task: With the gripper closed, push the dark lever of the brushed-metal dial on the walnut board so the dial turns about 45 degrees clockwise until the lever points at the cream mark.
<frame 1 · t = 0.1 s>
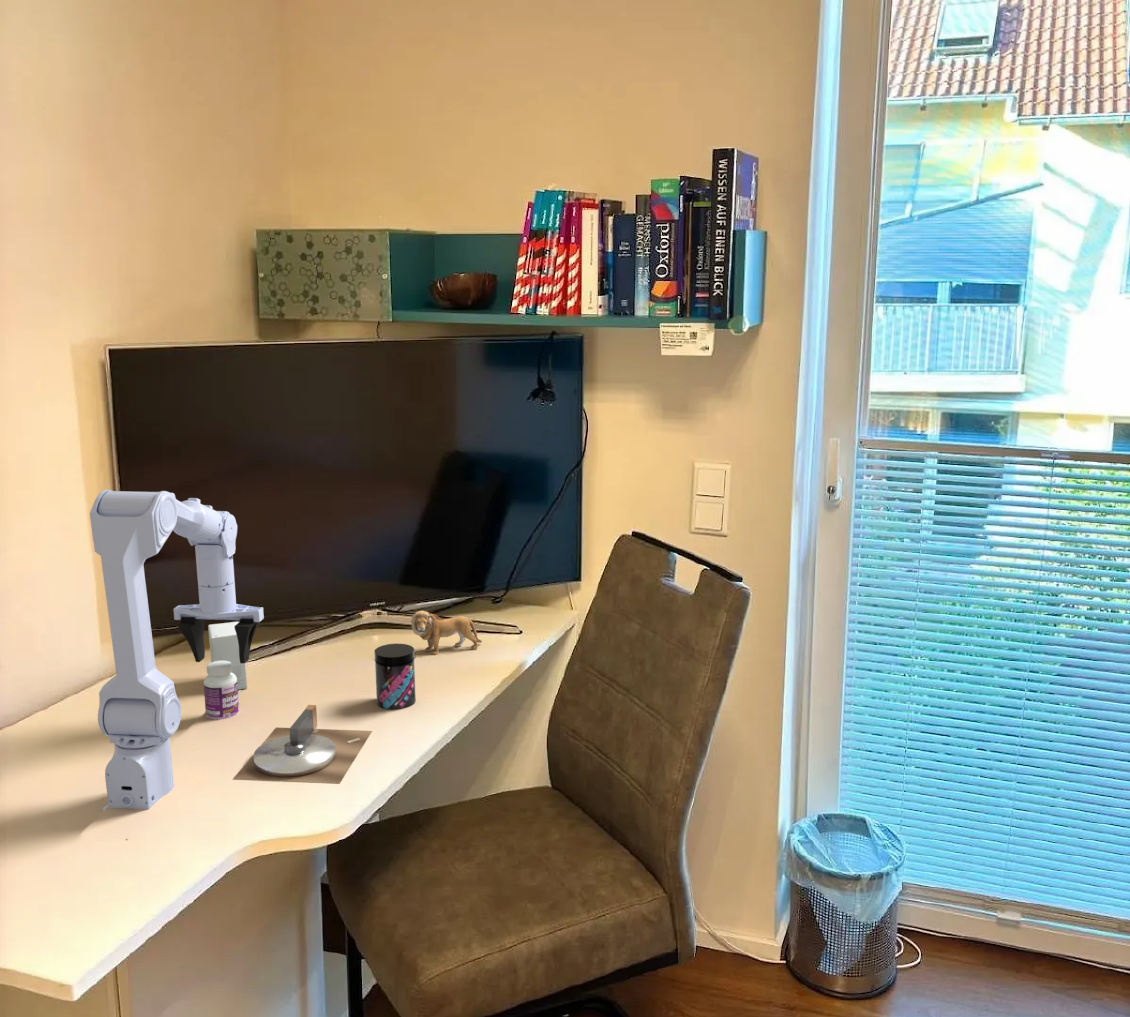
hand: (222, 660, 176), 10 cm above the table, tool pointing down, fingers open, 7 cm apart
supplement container: (396, 708, 182), on the table
pill bottle: (223, 719, 178), on the table
small box: (229, 684, 193), on the table
lion figurine: (446, 652, 209), on the table
dial: (297, 739, 161), point 4 cm above the table, hinge at 0.0°
dial board: (306, 759, 163), on the table
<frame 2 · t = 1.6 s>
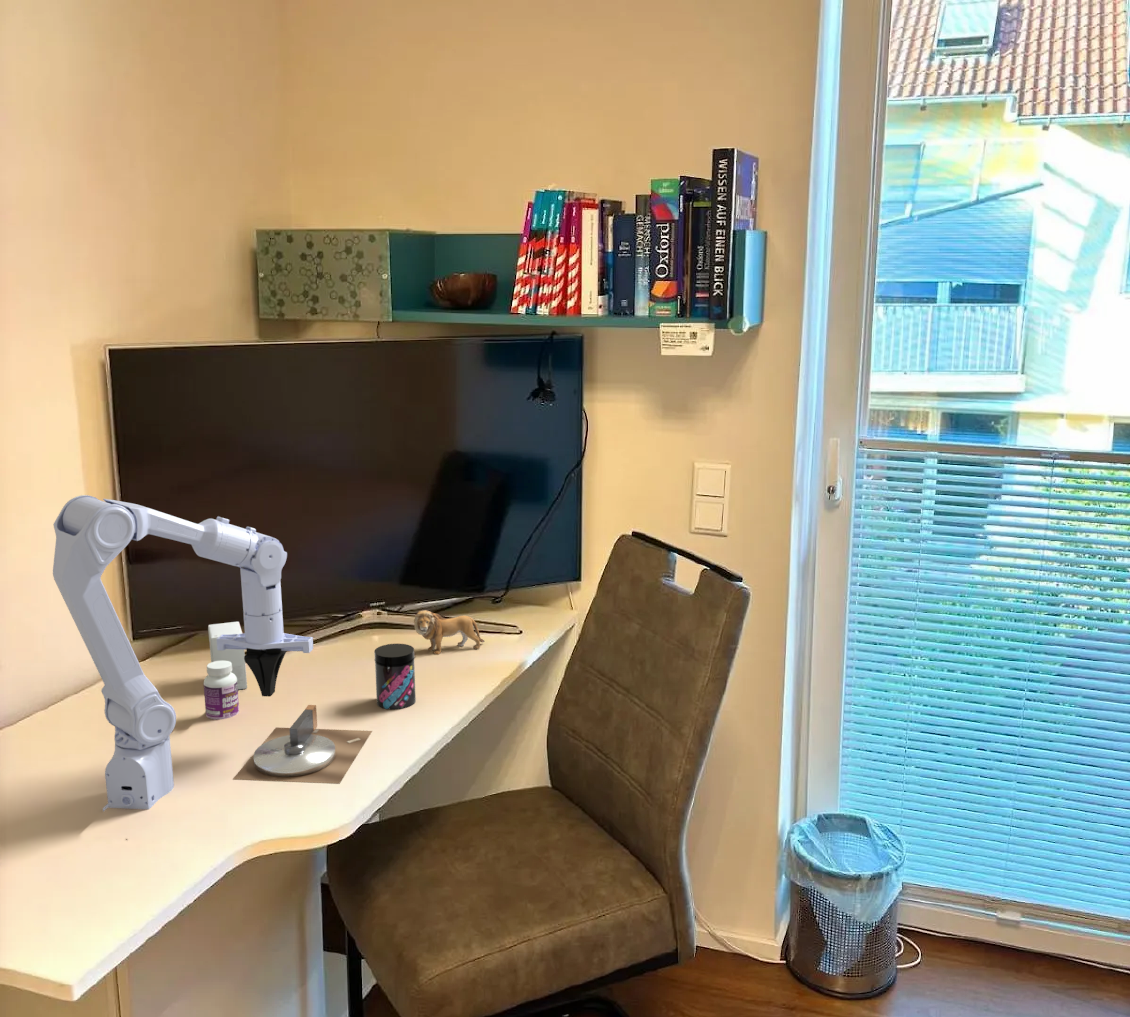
hand: (268, 694, 164), 9 cm above the table, tool pointing down, fingers closed
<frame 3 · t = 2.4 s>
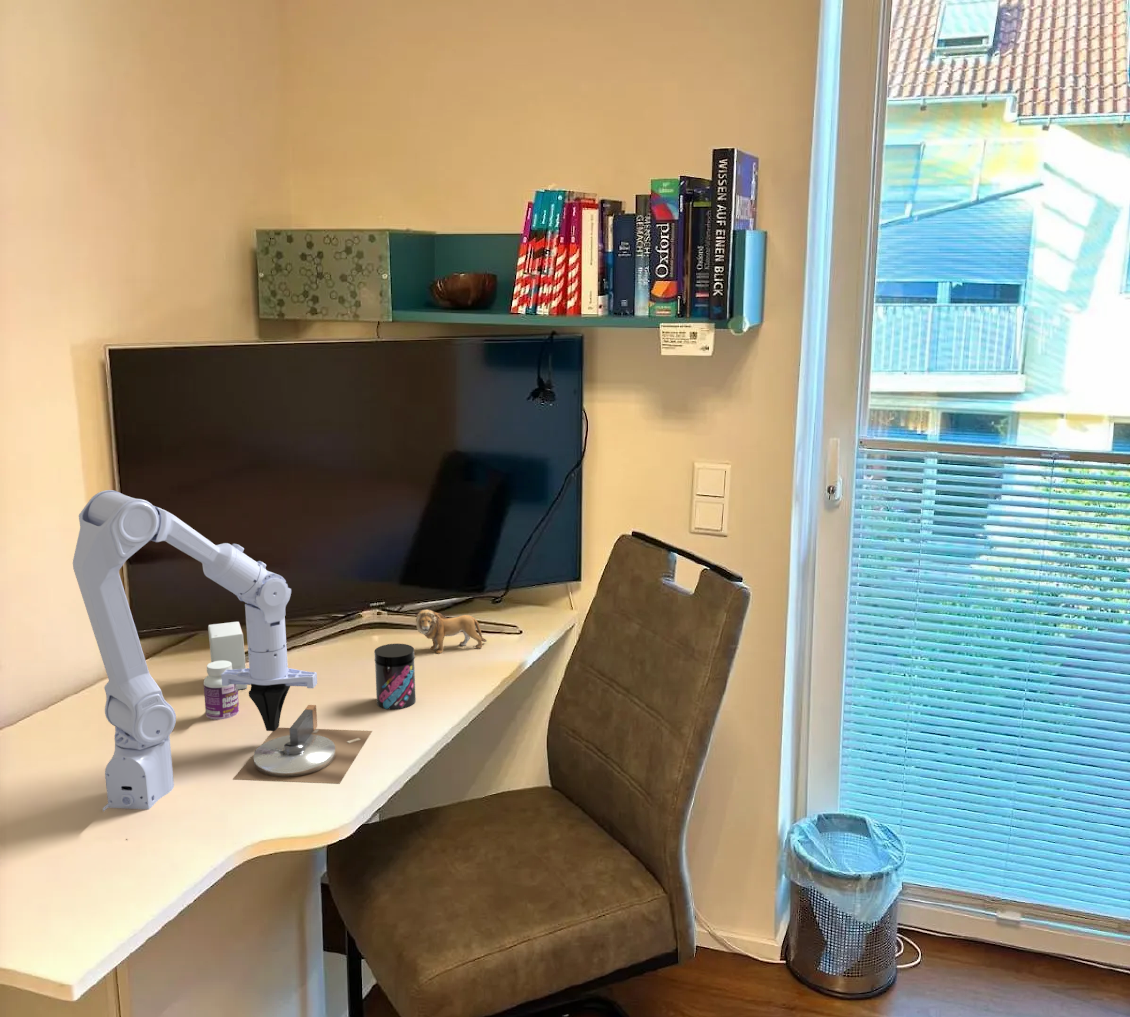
hand: (272, 728, 165), 4 cm above the table, tool pointing down, fingers closed
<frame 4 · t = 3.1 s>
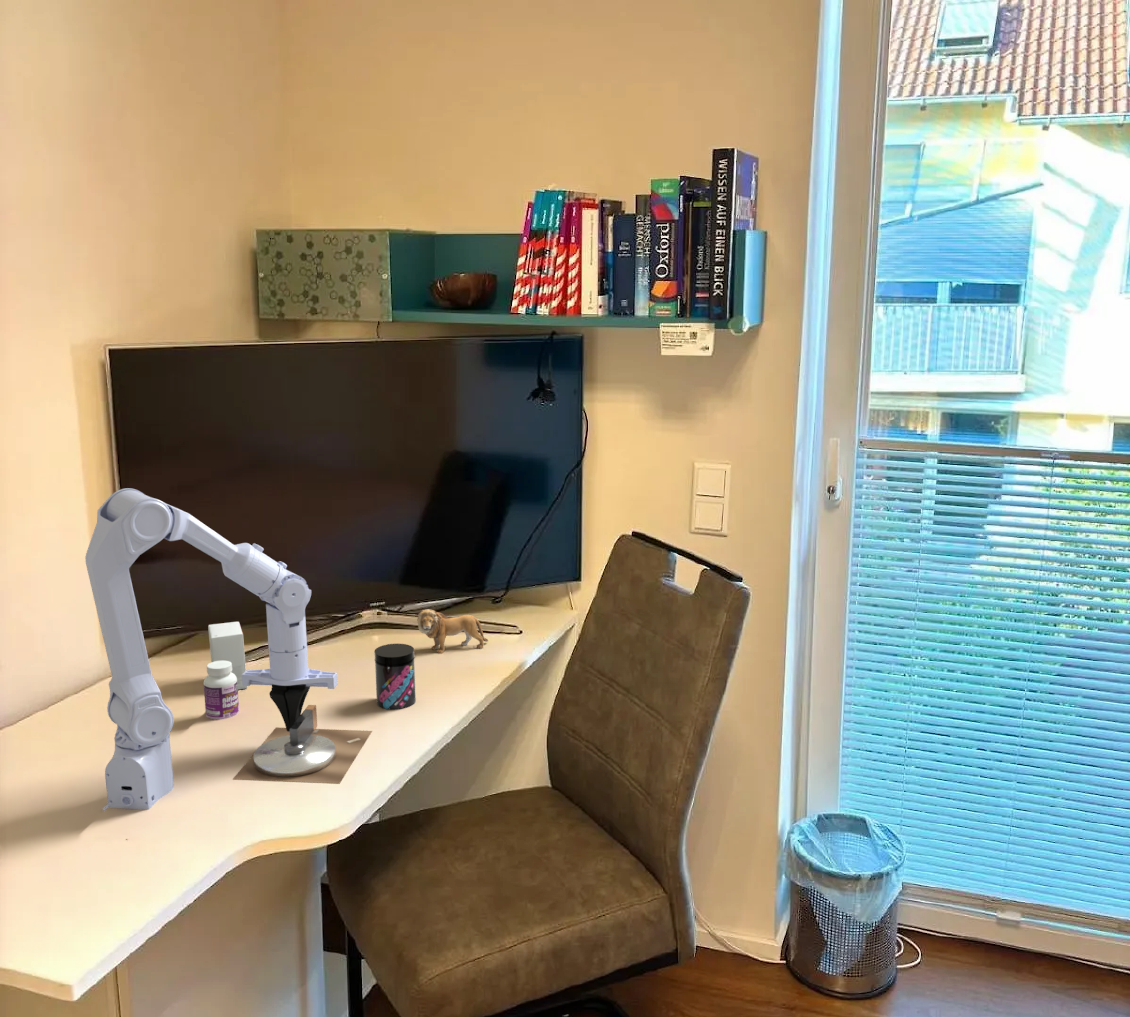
hand: (293, 728, 165), 4 cm above the table, tool pointing down, fingers closed, pressing on dial
dial: (297, 739, 161), point 4 cm above the table, hinge at 0.0°, touching gripper
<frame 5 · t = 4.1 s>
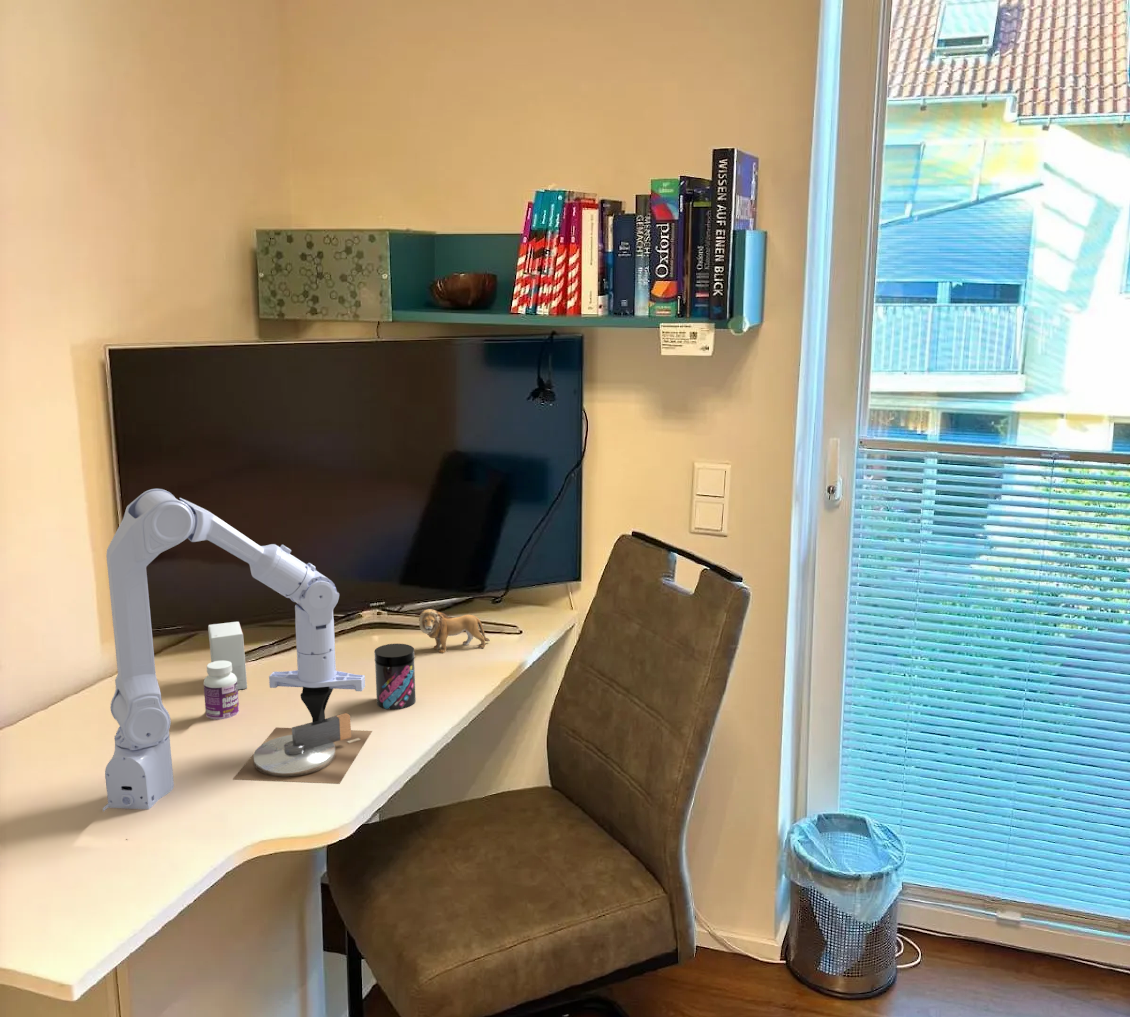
hand: (319, 731, 165), 3 cm above the table, tool pointing down, fingers closed, pressing on dial
dial: (303, 740, 161), point 4 cm above the table, hinge at -48.8°, touching gripper
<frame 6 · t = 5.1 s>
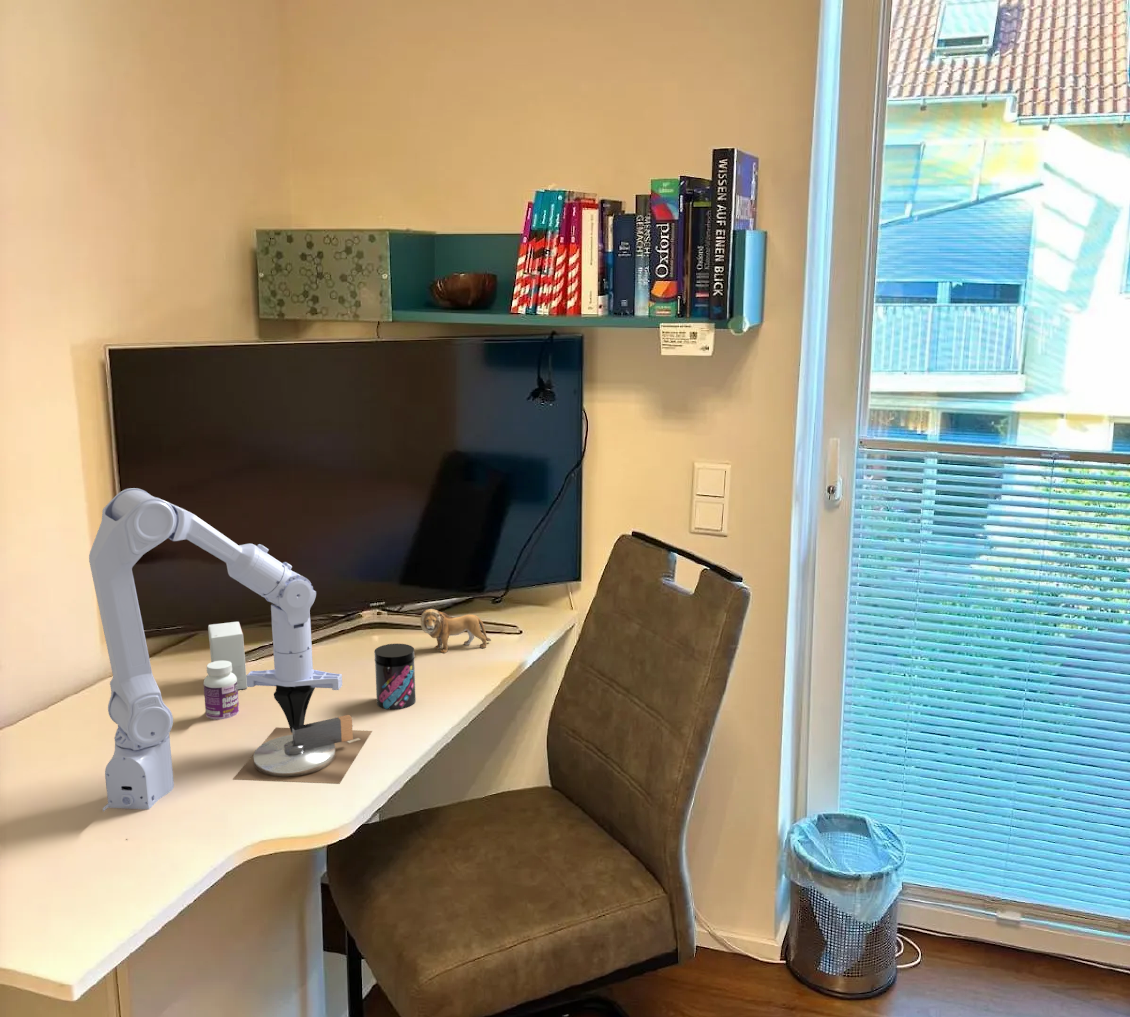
hand: (297, 730, 165), 4 cm above the table, tool pointing down, fingers closed
dial: (303, 741, 161), point 4 cm above the table, hinge at -53.9°
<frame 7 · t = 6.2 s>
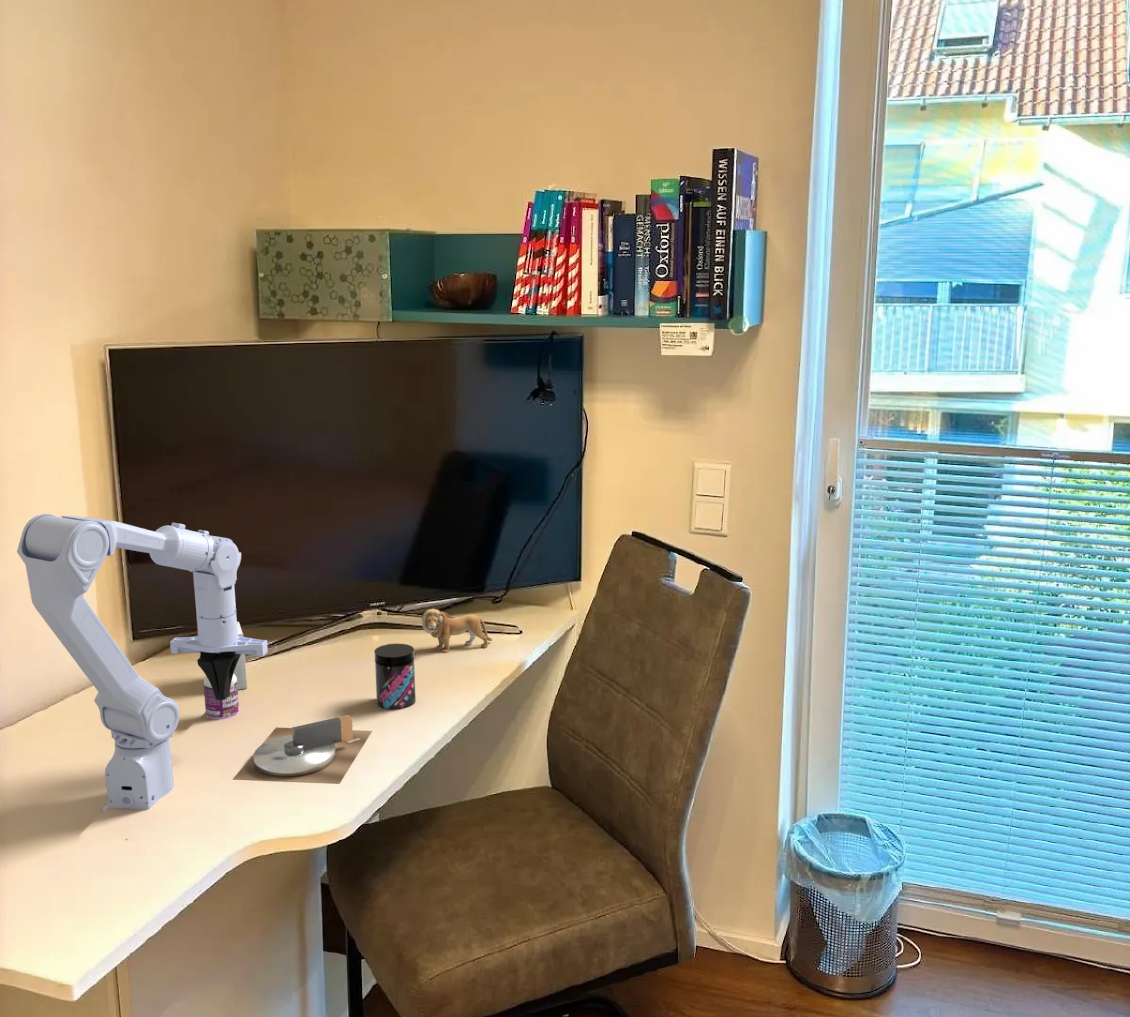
hand: (222, 697, 163), 9 cm above the table, tool pointing down, fingers closed
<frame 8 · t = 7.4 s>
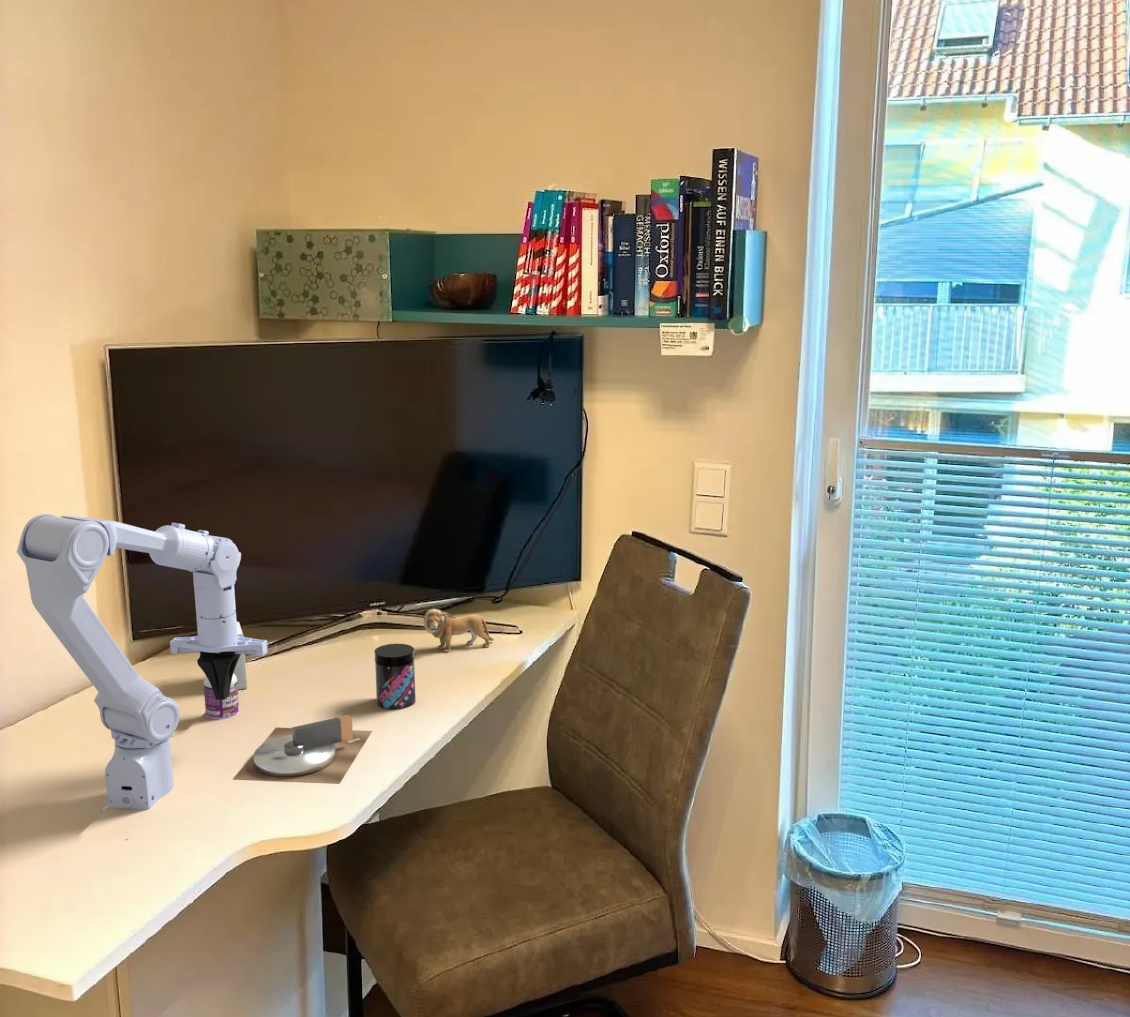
hand: (222, 697, 163), 9 cm above the table, tool pointing down, fingers closed
at the end: dial at -54° (first picture: +0°) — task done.
